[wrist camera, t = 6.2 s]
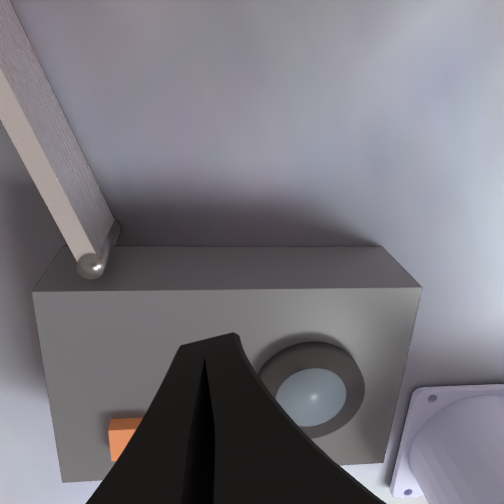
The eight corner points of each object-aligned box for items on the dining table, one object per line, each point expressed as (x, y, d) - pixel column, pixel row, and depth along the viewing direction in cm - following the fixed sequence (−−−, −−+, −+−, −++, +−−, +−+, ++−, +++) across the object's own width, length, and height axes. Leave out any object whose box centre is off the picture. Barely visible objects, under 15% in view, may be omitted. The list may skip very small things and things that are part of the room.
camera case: (382, 246, 21) (431, 296, 16) (354, 401, 24) (389, 475, 20) (62, 246, 19) (24, 302, 15) (83, 413, 22) (57, 497, 18)
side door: (-35, -3, 15) (-104, -21, 11) (5, -18, 15) (-52, -39, 11) (93, 245, 19) (70, 287, 15) (124, 233, 19) (108, 274, 15)
